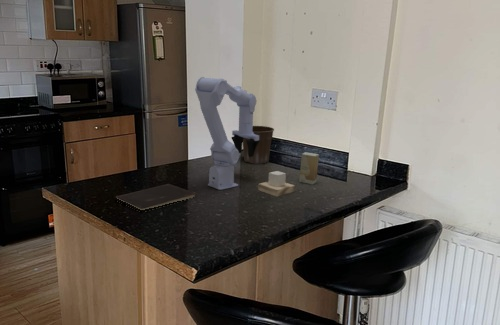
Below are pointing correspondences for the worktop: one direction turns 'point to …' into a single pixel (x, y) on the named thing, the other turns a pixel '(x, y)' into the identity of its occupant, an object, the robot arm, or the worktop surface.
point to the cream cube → (277, 178)
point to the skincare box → (309, 168)
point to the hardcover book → (156, 196)
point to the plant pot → (259, 145)
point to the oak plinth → (276, 189)
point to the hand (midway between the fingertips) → (244, 154)
